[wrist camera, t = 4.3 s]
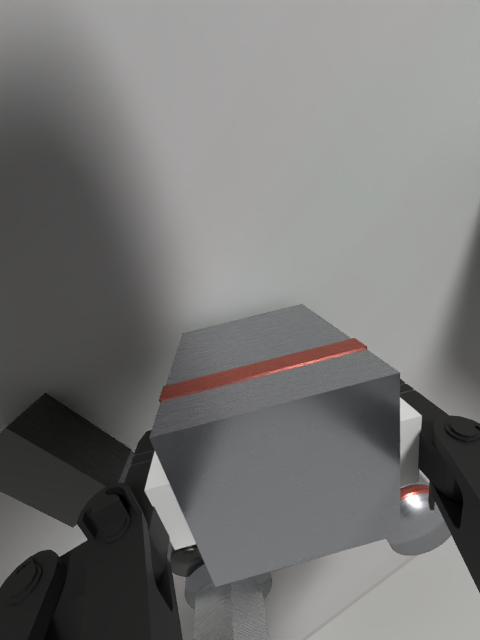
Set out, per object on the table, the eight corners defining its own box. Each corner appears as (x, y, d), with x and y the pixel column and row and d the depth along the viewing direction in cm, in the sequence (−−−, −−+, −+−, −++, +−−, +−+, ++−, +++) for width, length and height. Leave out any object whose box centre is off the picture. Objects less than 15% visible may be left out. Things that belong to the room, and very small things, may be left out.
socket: (181, 333, 12) (146, 436, 6) (302, 302, 13) (401, 370, 6) (213, 430, 15) (214, 587, 8) (317, 403, 15) (401, 535, 8)
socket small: (335, 464, 18) (375, 535, 13) (381, 430, 17) (438, 492, 13) (365, 491, 19) (410, 565, 14) (409, 460, 18) (469, 527, 14)
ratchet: (-4, 441, 14) (-195, 616, 8) (57, 380, 13) (-96, 514, 7) (225, 569, 20) (231, 736, 13) (277, 531, 19) (311, 686, 12)
